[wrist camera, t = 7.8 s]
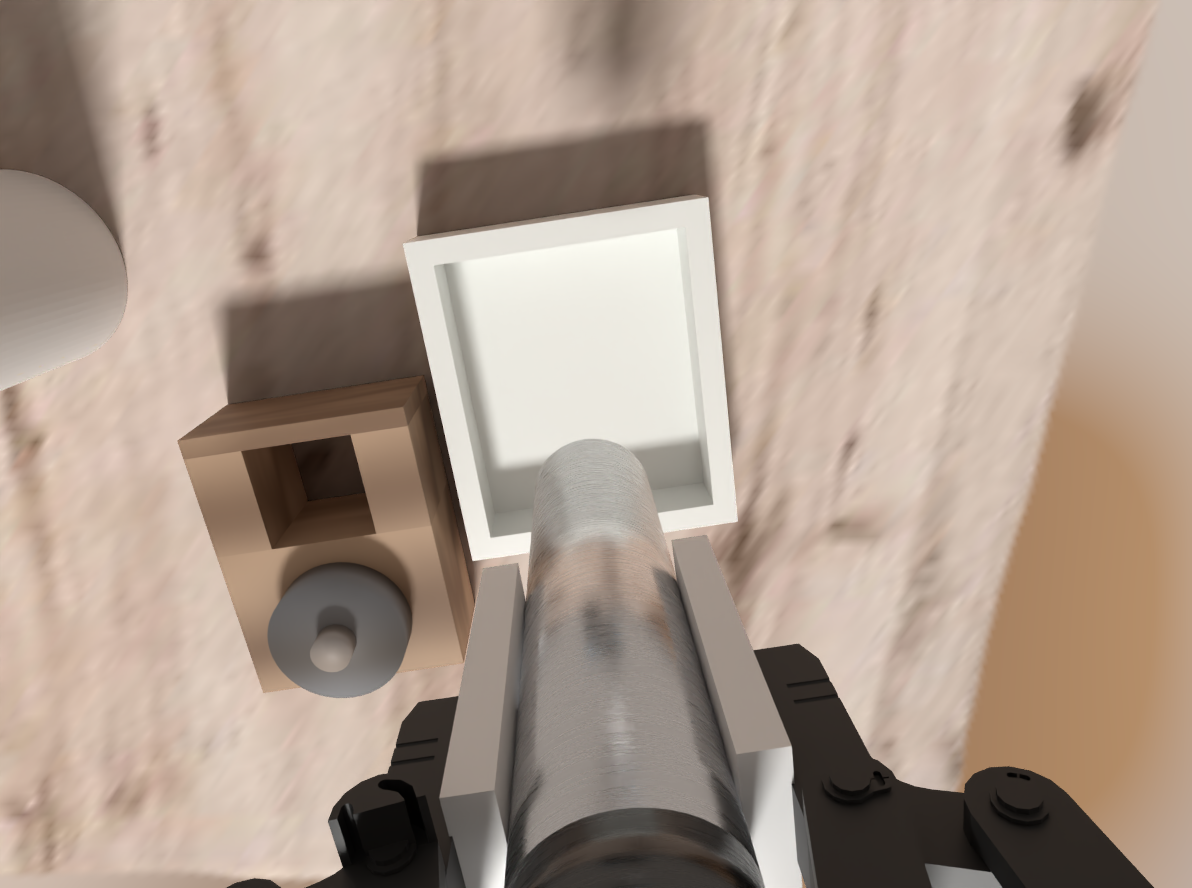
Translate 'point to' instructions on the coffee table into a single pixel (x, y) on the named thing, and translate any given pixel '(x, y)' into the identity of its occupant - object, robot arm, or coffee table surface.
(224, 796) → the coffee table surface
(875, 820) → the robot arm
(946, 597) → the coffee table surface
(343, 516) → the block
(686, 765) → the pin
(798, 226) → the coffee table surface
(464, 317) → the tray
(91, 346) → the white cylinder
